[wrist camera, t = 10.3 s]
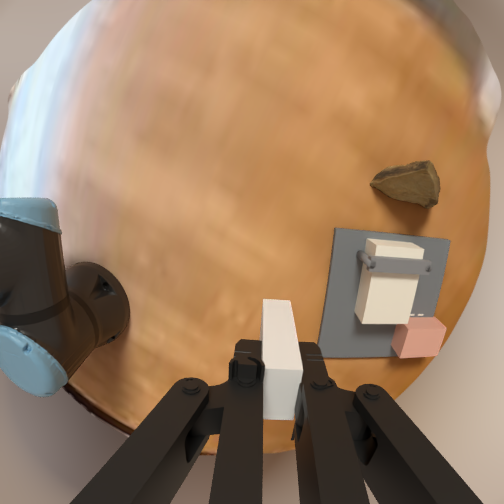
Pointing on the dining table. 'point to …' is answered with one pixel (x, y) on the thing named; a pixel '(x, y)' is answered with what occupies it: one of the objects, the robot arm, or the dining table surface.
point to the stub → (418, 337)
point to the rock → (410, 183)
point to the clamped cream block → (389, 281)
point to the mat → (346, 290)
